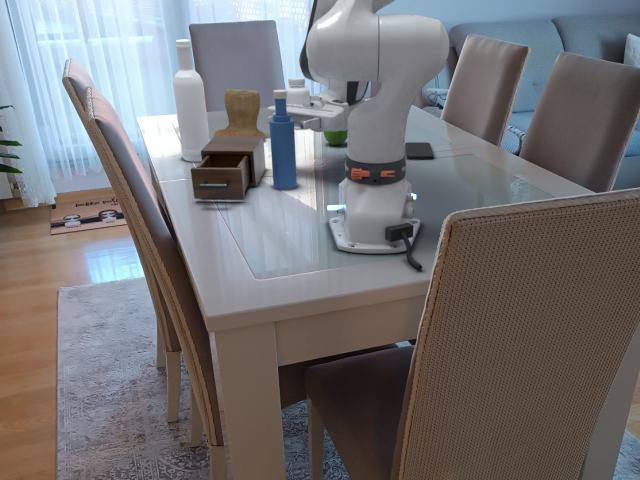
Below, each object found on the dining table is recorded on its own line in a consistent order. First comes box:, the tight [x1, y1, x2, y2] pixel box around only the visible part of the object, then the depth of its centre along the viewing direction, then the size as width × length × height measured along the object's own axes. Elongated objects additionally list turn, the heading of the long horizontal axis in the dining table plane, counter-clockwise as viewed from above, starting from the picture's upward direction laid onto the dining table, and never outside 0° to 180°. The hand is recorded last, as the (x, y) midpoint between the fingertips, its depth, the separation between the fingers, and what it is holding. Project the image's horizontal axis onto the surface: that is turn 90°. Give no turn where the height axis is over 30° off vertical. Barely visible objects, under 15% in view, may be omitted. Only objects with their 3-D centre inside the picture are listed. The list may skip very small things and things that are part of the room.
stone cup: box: [213, 88, 266, 139], centre depth 192 cm, size 15×12×15 cm
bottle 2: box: [268, 89, 298, 191], centre depth 150 cm, size 6×6×22 cm
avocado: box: [322, 130, 348, 146], centre depth 188 cm, size 8×8×12 cm
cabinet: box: [201, 135, 266, 188], centre depth 160 cm, size 15×13×9 cm
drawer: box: [190, 154, 252, 200], centre depth 148 cm, size 18×11×7 cm, turn 177°
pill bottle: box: [285, 76, 311, 130], centre depth 208 cm, size 8×8×15 cm
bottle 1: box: [172, 38, 211, 163], centre depth 171 cm, size 8×8×30 cm
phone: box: [404, 141, 434, 160], centre depth 183 cm, size 7×1×15 cm
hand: (286, 123), depth 150 cm, fingers open, 8 cm apart
